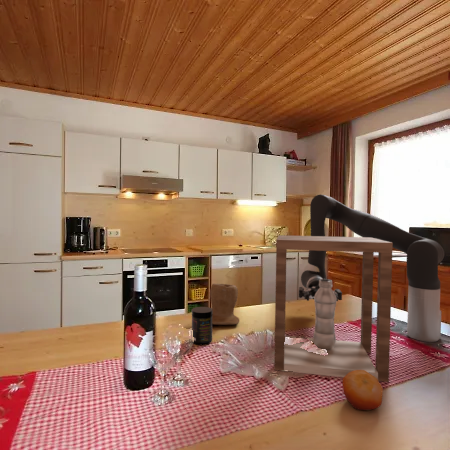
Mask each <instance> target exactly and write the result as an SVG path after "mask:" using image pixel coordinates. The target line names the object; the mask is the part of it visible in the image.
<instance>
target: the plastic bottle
mask: <svg viewBox="0 0 450 450" xmlns="http://www.w3.org/2000/svg"><path fill="white" fill-rule="evenodd" d="M319 286H320V288H319V290H318V291H317V292H316V294H315V296H314V299H313V300H314V308H315V309H314V310H315V323H314V324H315V325H314V331H313V335H312V338H313V341H314V344H315V345H316V346H317V347H318V348H321V349H332V348H333V347H334V346H335V343H336V340H337V337H336V332H335V312H336V307H337V302H338V301H337V298H336V295H335V294H334V292H333V291H334V290H333V289H332V288H333V280H332V279H328V278H327V279H320V280H319Z"/></svg>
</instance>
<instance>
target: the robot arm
mask: <svg viewBox="0 0 450 450" xmlns="http://www.w3.org/2000/svg"><path fill="white" fill-rule="evenodd" d="M309 205H310V206H309V208H310V209H309V210H310V212H309V214H310V236H326V234H325V233H326V230H325V224H326V223H325V222H326V219H327V220H332V221H335V222H337V223H340V224H342V225H343V226H344V227H346V228H347V229H348V230H349V231H351V232H353V233H354V234H356V235H358V236H359V237H369V238H376V239H380V240H384V241H388V242H392V243H393V245H392V249H395V250H397V251H400V252H403V253H404V254H406V278H407V280H408V286H407V287H408V290H407V291H408V292H407V293H408V295H407V296H408V297H407V324H406V325H407V326H406V335H407V336H408V337H410V338H411V339H415V340H417V341H421V342H426V343H427V342H428V343H431V342H433V343H435V342H438V341H439V340H440V339H441V337H442V332H441V331H442V310H441V307H440V306H441V280H440V279H439V264H440V263H441V262H442V261H443V259H444V257H445V251H444V249H443V247H442V246H441V244H440V243H439V242H437V241H436V240H433V239H430V238H426V237H422V236H420V235H417V234H413V233H411V232H408V231H406V230H404V229H402V228H400V227H399V226H396V225H395V224H392V223H390V222H388V221H386V220H384V219H382V218H380V217H378V216H375V215H373V214H371V213H369V212H368V213H367V212H365V211H362V210H359V209H358V210H357V209H354V208H351V207H349V206H347V205H345V204H343V203H342V202H340V201H338V200H336V199H335V198H334V197H331V196H328V195H325V194H317V195H315V196H313V197H312V199H311V201H310V204H309ZM326 258H327V251H315V250H308V256H307V263H308V264H309V265H310V266H314V267H316V268H317V269H318V271H315V270H309V269H307V270H304V271H303V272H302V273H301V276H300V282H301V284H302V286H299V287H298V298H299V299H301V298H303V299H304V300H306V301H307V302H309V301H310V300H311V299H312V300H314V296H315V294H316V292H317V291H318V290H319V288H320V286H319V280H320V279H328V278H327V273H326ZM332 291H333V292H334V294H335V295H336V298H337V301H336V302H339V301H342V300H343V292H342V291H341V290H340V289H339V288H335V289H334V290H332Z"/></svg>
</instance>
